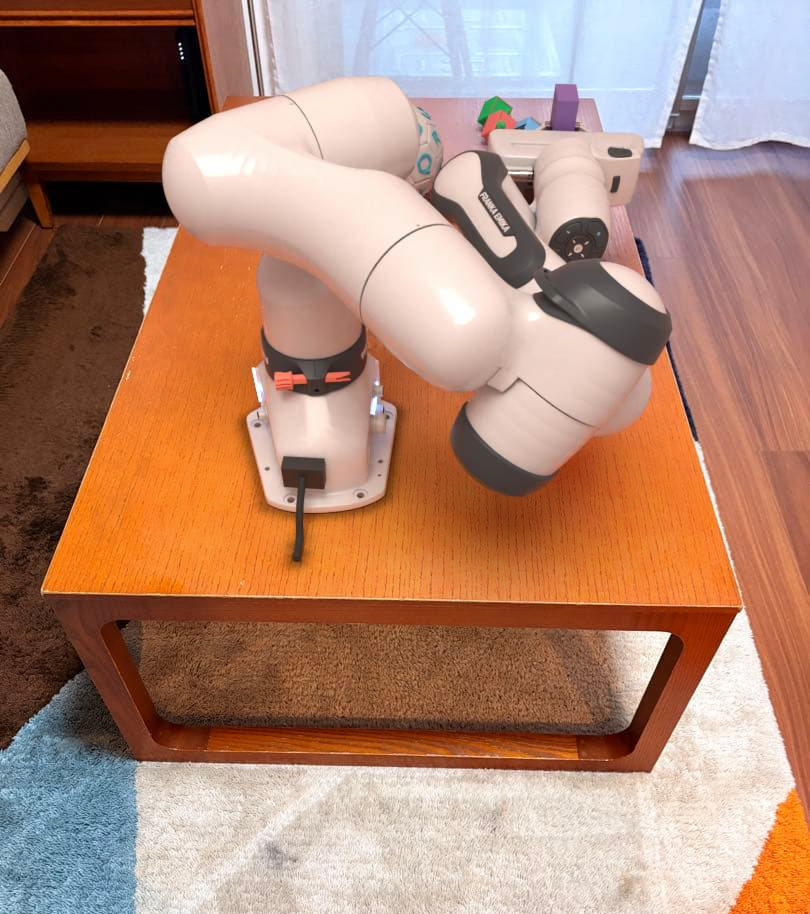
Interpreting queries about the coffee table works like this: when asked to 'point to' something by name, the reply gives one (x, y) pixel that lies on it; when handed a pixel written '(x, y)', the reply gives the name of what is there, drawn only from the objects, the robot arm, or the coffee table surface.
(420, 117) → the puzzle ball
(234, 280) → the coffee table surface
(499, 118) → the building blocks
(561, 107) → the purple rectangular block
